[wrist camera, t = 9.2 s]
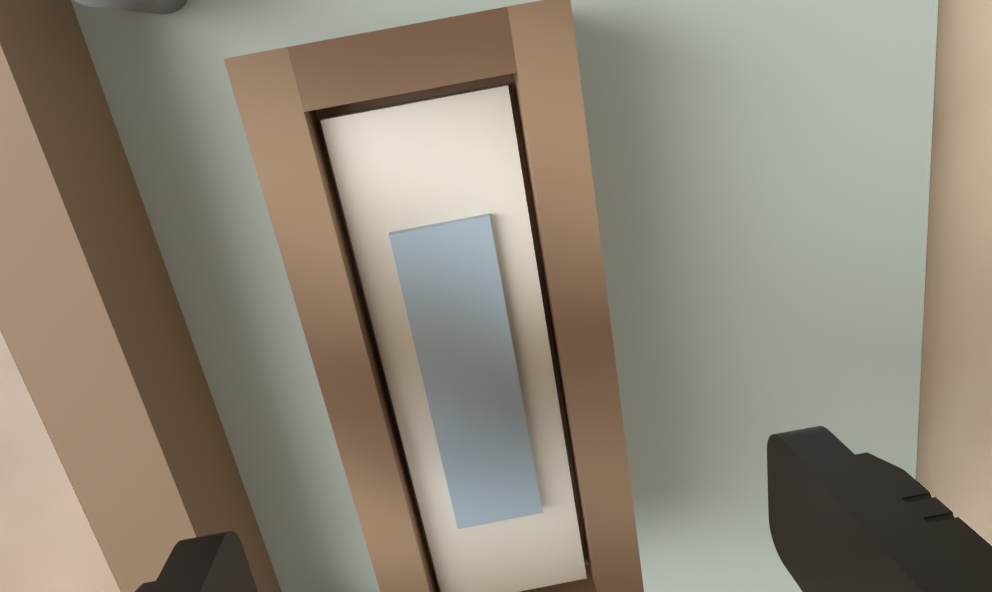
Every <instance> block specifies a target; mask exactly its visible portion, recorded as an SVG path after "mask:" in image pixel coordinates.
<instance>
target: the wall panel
mask: <svg viewBox="0 0 992 592" xmlns="http://www.w3.org/2000/svg"><path fill="white" fill-rule="evenodd" d="M535 1H540V0H0V330H1V333H2V335H3V337H4V339H5V341H6V344H7V346H8V348H9V350H10V352H11V354H12V357H13V359H14V361H15V363H16V365H17V367H18V370H19V372H20V374H21V376H22V378H23V380H24V383H25V385H26V387H27V389H28V391H29V393H30V396H31V398H32V400H33V402H34V404H35V406H36V409H37V411H38V413H39V415H40V417H41V420H42V422H43V424H44V426H45V428H46V430H47V433H48V435H49V437H50V439H51V441H52V443H53V446H54V448H55V450H56V452H57V454H58V456H59V459H60V461H61V463H62V465H63V467H64V469H65V472H66V474H67V476H68V478H69V480H70V483H71V485H72V487H73V489H74V491H75V493H76V496H77V498H78V500H79V502H80V504H81V506H82V509H83V511H84V513H85V515H86V517H87V519H88V522H89V524H90V526H91V528H92V530H93V532H94V535H95V537H96V539H97V541H98V543H99V546H100V548H101V550H102V552H103V554H104V556H105V559H106V561H107V563H108V565H109V567H110V569H111V572H112V574H113V576H114V578H115V580H116V582H117V585H118V587H119V589H120V591H121V592H135V591H136V590H137V589H138V588H139V587H140V586H141V585H142V584H143V583H147V582H152V581H156V580H157V578H158V576H159V574H160V572H161V570H162V569H163V567H164V565H165V563H166V561H167V559H168V557H169V555H170V553H171V552H172V550H173V548H174V546H175V545H176V543H177V542H178V541H180V540H184V539H190V538H195V537H201V536H206V535H212V534H217V533H223V532H228V531H233V532H235V533H236V534H237V535H238V536H239V538H240V540H241V542H242V545H243V548H244V551H245V554H246V557H247V560H248V563H249V566H250V569H251V572H252V575H253V578H254V581H255V584H256V587H257V590H258V592H380V589H379V586H378V583H377V579H376V576H375V572H374V569H373V566H372V562H371V559H370V555H369V552H368V549H367V545H366V542H365V538H364V535H363V532H362V528H361V525H360V521H359V518H358V515H357V511H356V508H355V504H354V501H353V498H352V494H351V491H350V487H349V484H348V481H347V477H346V474H345V470H344V467H343V464H342V460H341V457H340V453H339V450H338V446H337V443H336V440H335V436H334V433H333V429H332V426H331V423H330V419H329V416H328V412H327V409H326V406H325V402H324V399H323V395H322V392H321V389H320V385H319V382H318V378H317V375H316V372H315V368H314V365H313V361H312V358H311V355H310V351H309V348H308V344H307V341H306V338H305V334H304V331H303V327H302V324H301V321H300V317H299V314H298V310H297V307H296V304H295V300H294V297H293V293H292V290H291V287H290V283H289V280H288V276H287V273H286V270H285V266H284V263H283V259H282V256H281V253H280V249H279V246H278V242H277V239H276V236H275V232H274V229H273V225H272V222H271V219H270V215H269V212H268V208H267V205H266V202H265V198H264V195H263V191H262V188H261V185H260V181H259V178H258V174H257V171H256V168H255V164H254V161H253V157H252V154H251V151H250V147H249V144H248V140H247V137H246V134H245V130H244V127H243V123H242V120H241V116H240V113H239V110H238V106H237V103H236V99H235V96H234V93H233V89H232V86H231V82H230V79H229V76H228V72H227V69H226V65H225V62H224V59H225V58H230V57H236V56H241V55H247V54H252V53H257V52H263V51H268V50H274V49H279V48H285V47H290V46H295V45H301V44H306V43H312V42H317V41H323V40H328V39H334V38H339V37H344V36H350V35H355V34H361V33H366V32H372V31H377V30H382V29H388V28H393V27H399V26H404V25H410V24H415V23H421V22H426V21H431V20H437V19H442V18H448V17H453V16H459V15H464V14H469V13H475V12H480V11H486V10H491V9H497V8H502V7H508V6H513V5H518V4H524V3H529V2H535ZM571 7H572V16H573V24H574V32H575V40H576V48H577V56H578V64H579V72H580V80H581V88H582V96H583V104H584V112H585V120H586V128H587V136H588V144H589V152H590V160H591V168H592V176H593V185H594V193H595V201H596V209H597V217H598V225H599V233H600V241H601V249H602V257H603V265H604V273H605V281H606V289H607V297H608V305H609V313H610V321H611V329H612V337H613V345H614V354H615V362H616V370H617V378H618V386H619V394H620V402H621V410H622V418H623V426H624V434H625V442H626V450H627V458H628V466H629V474H630V482H631V490H632V498H633V506H634V514H635V523H636V531H637V539H638V547H639V555H640V563H641V571H642V579H643V587H644V592H802V590H801V589H800V587H799V586H798V585H797V583H796V582H795V580H794V579H793V577H792V576H791V574H790V573H789V572H788V570H787V569H786V567H785V566H784V564H783V563H782V561H781V559H780V557H779V555H778V553H777V551H776V548H775V546H774V543H773V539H772V536H771V532H770V526H769V514H768V477H767V442H768V438H769V437H770V436H771V435H772V434H777V433H783V432H788V431H794V430H799V429H805V428H810V427H816V426H823V427H825V428H827V429H828V430H829V431H830V432H831V433H833V434H834V435H835V436H836V437H837V438H838V439H839V440H840V441H841V442H842V443H843V444H844V445H845V446H846V447H848V448H849V449H850V450H851V451H852V452H853V453H854V454H861V453H866V452H868V453H870V454H872V455H874V456H876V457H878V458H880V459H882V460H885V461H887V462H889V463H891V464H893V465H895V466H897V467H899V468H902V469H904V470H905V471H906V472H907V473H908V474H909V475H910V476H912V477H913V478H914V479H915V480H916V462H917V441H918V420H919V399H920V378H921V357H922V335H923V314H924V293H925V272H926V251H927V230H928V209H929V187H930V166H931V145H932V124H933V103H934V82H935V61H936V39H937V18H938V0H571Z"/></svg>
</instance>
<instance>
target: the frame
mask: <svg viewBox="0 0 992 592" xmlns="http://www.w3.org/2000/svg"><path fill="white" fill-rule="evenodd" d="M224 62H225V65H226V69H227V72H228V76H229V79H230V82H231V86H232V89H233V93H234V96H235V99H236V103H237V106H238V110H239V113H240V116H241V120H242V123H243V127H244V130H245V134H246V137H247V140H248V144H249V147H250V151H251V154H252V157H253V161H254V164H255V168H256V171H257V174H258V178H259V181H260V185H261V188H262V191H263V195H264V198H265V202H266V205H267V208H268V212H269V215H270V219H271V222H272V225H273V229H274V232H275V236H276V239H277V242H278V246H279V249H280V253H281V256H282V259H283V263H284V266H285V270H286V273H287V276H288V280H289V283H290V287H291V290H292V293H293V297H294V300H295V304H296V307H297V310H298V314H299V317H300V321H301V324H302V327H303V331H304V334H305V338H306V341H307V344H308V348H309V351H310V355H311V358H312V361H313V365H314V368H315V372H316V375H317V378H318V382H319V385H320V389H321V392H322V395H323V399H324V402H325V406H326V409H327V412H328V416H329V419H330V423H331V426H332V429H333V433H334V436H335V440H336V443H337V446H338V450H339V453H340V457H341V460H342V464H343V467H344V470H345V474H346V477H347V481H348V484H349V487H350V491H351V494H352V498H353V501H354V504H355V508H356V511H357V515H358V518H359V521H360V525H361V528H362V532H363V535H364V538H365V542H366V545H367V549H368V552H369V555H370V559H371V562H372V566H373V569H374V572H375V576H376V579H377V583H378V586H379V589H380V592H644V587H643V579H642V571H641V563H640V555H639V547H638V539H637V531H636V523H635V514H634V506H633V498H632V490H631V482H630V474H629V466H628V458H627V450H626V442H625V434H624V426H623V418H622V410H621V402H620V394H619V386H618V378H617V370H616V362H615V354H614V345H613V337H612V329H611V321H610V313H609V305H608V297H607V289H606V281H605V273H604V265H603V257H602V249H601V241H600V233H599V225H598V217H597V209H596V201H595V193H594V185H593V176H592V168H591V160H590V152H589V144H588V136H587V128H586V120H585V112H584V104H583V96H582V88H581V80H580V72H579V64H578V56H577V48H576V40H575V32H574V24H573V16H572V7H571V0H540V1H535V2H529V3H524V4H518V5H513V6H508V7H502V8H497V9H491V10H486V11H480V12H475V13H469V14H464V15H459V16H453V17H448V18H442V19H437V20H431V21H426V22H421V23H415V24H410V25H404V26H399V27H393V28H388V29H382V30H377V31H372V32H366V33H361V34H355V35H350V36H344V37H339V38H334V39H328V40H323V41H317V42H312V43H306V44H301V45H295V46H290V47H285V48H279V49H274V50H268V51H263V52H257V53H252V54H247V55H241V56H236V57H230V58H225V59H224Z"/></svg>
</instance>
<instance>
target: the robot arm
mask: <svg viewBox="0 0 992 592" xmlns="http://www.w3.org/2000/svg"><path fill="white" fill-rule="evenodd" d="M767 477H768V514H769V526H770V532H771V536H772V539H773V543H774V546H775V548H776V551H777V553H778V555H779V557H780V559H781V561H782V563H783V564H784V566H785V567H786V569H787V570H788V572H789V573H790V574H791V576H792V577H793V579H794V580H795V582H796V583H797V585H798V586H799V587H800V589H801V590H802V592H992V546H991V545H990V544H989V543H987V542H986V541H985V540H984V539H983V538H982V537H981V536H979V535H978V534H977V533H976V532H975V531H974V530H973V529H971V528H970V527H969V526H968V525H967V524H966V523H964V522H963V521H962V520H961V519H960V518H959V517H957V518H955V517H954V516H953V512H952V511H951V510H950V509H948V508H947V507H946V506H945V505H944V504H943V503H941V502H940V501H939V500H938V499H937V498H936V497H934V498H932V497H931V495H930V492H929V491H928V490H927V489H925V488H924V487H923V486H922V485H921V484H920V483H919V482H917V481H916V480H915V479H914V478H913V477H912V476H910V475H909V474H908V473H907V472H906V471H905V470H904V469H902V468H899V467H897V466H895V465H893V464H891V463H889V462H887V461H885V460H882V459H880V458H878V457H876V456H874V455H872V454H870V453H868V452H866V453H861V454H854V453H853V452H852V451H851V450H850V449H849V448H848V447H846V446H845V445H844V444H843V443H842V442H841V441H840V440H839V439H838V438H837V437H836V436H835V435H834V434H833V433H831V432H830V431H829V430H828V429H827V428H825V427H823V426H816V427H810V428H805V429H799V430H794V431H788V432H783V433H777V434H772V435H771V436H770V437H769V438H768V442H767ZM135 592H258V590H257V587H256V584H255V581H254V578H253V575H252V572H251V569H250V566H249V563H248V560H247V557H246V554H245V551H244V548H243V545H242V542H241V540H240V538H239V536H238V535H237V534H236V533H235V532H233V531H228V532H223V533H217V534H212V535H206V536H201V537H195V538H190V539H184V540H180V541H178V542H177V543H176V545H175V546H174V548H173V550H172V552H171V553H170V555H169V557H168V559H167V561H166V563H165V565H164V567H163V569H162V570H161V572H160V574H159V576H158V578H157V580H156V581H152V582H147V583H143V584H142V585H141V586H140V587H139V588H138V589H137V590H136V591H135Z"/></svg>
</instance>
